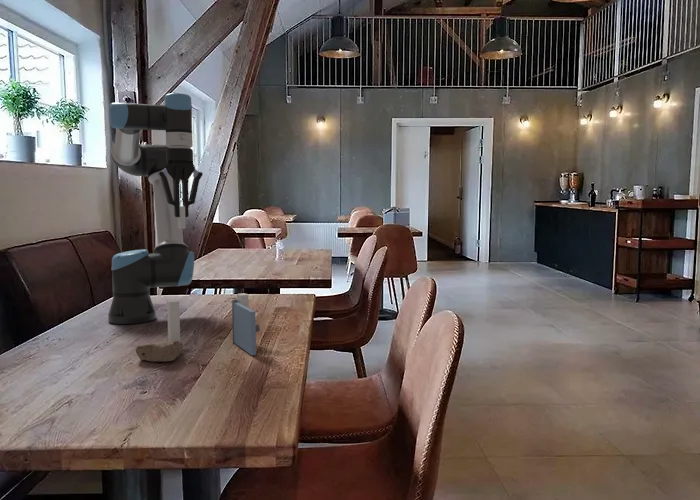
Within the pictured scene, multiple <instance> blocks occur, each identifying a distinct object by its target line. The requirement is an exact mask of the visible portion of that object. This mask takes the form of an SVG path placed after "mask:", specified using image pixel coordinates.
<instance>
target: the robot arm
mask: <svg viewBox="0 0 700 500" xmlns="http://www.w3.org/2000/svg"><path fill="white" fill-rule="evenodd" d="M108 109H109V125H110V127H111V128H113V129H115V135H114V138H115V139H114V140H115V141H114V143H113V145H112V146H111V150H110V151H111V153H110V156H111V159H112V161H113V163H114V165H116V167H118V169H119V170H121V171H122V172H123V173H126V174H128V175H131V176H135V177H147V180H148V182H149V183H150V185H152V186H153V197H154V212H155V221H156V222H155V224H156V235H157V237H156V238H157V245H156V246H155V247H154V249H153V252H154V253H153V252H152V253H149V251H148V249H144V248H141V249H134V250H128V251H123V252H122V251H121V252H119V253H116V254H114V255H113V256H112V258H111V269H110V270H111V275H112V277H111V278H112V300H111V303H110V307H109V311H108V313H107V319H108V322H109V323H111V324H116V325H133V324H141V323H146V322H151V321H153V320H156V319H157V314H156V313H157V312H156V309H155V306H154V303H153V301H152V298H151V295H150V294H151V293H150V292H151V290H150V289H151V288H166V287H180V286H189V285H190V284H191V283H192V280H193V276H194V269H195V253H194V251H189V250H190V249H189V246H188V245H187V244H186V243H185V242H184V235H183V230H184V229H186V228H187V227H186V218H188V217H189V212H190V211H189V206H191V205H194V204H195V203H196V198H197V193H198V190H199V184H200V180H201V178H202V177H203V175H204V174H203V172H202V171H199V170H198V169H196V167H195V164H194V150H193V149H192V148H193V146H194V144H193V105H192V97H191V96H190V95H189V94H186V93H179V92H177V93H176V92H172V93H167V94H165V96H164V103H163V104H150V103H149V104H145V103H134V102H133V103H131V102H124V101H123V102H111V103H110V104H109V108H108ZM144 130H147V131H149V130H150V131H165V144H144V143H140V142H141V136H142V131H144ZM191 176H193V179H192V183H191V188H190V191H189V179H190V178H191ZM180 182H181V190H180ZM180 191H182V192H181V193H182V206H181V196H180V195H181V194H180ZM189 192H190V193H189Z"/></svg>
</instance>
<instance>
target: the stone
mask: <svg viewBox="0 0 700 500" xmlns="http://www.w3.org/2000/svg"><path fill="white" fill-rule="evenodd" d="M183 346H184V344H183V342H182V341H180V342H179V341H178V340H176V341H168V340H161V341H158V342H154V343H153V342H152V343H148V344H143V345H137V346H136V348H135V353H136V355H137V357H138V359H139V360H141V361H147V362H171V361H174V360H176V358H177V357H178V356H179V355H180V354H181V353H182V352H183Z"/></svg>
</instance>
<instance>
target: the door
mask: <svg viewBox="0 0 700 500" xmlns="http://www.w3.org/2000/svg"><path fill="white" fill-rule="evenodd" d="M248 307H249V306H248ZM248 307H246V306H244V305H242V304H240V303H238V300H237V298H235V299H231V313H232V314H231V316H232V318H231V319H232V320H231V321H232V323H231V324H232V344H233V345H237V346H238V347H239V348H241V349H242V350H244V351H245V352H246V353H248V354H249V355H250V356H256V355H257V335H256V334H257V333H258V332H260V331H261V330H260V328H261V327H260V324H258V323H257V322H256V321H257V320H256V311H255V310H253V309H251V308H250V307H249V308H248ZM256 323H257V324H256Z"/></svg>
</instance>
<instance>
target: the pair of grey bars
mask: <svg viewBox="0 0 700 500" xmlns="http://www.w3.org/2000/svg"><path fill="white" fill-rule="evenodd" d="M236 299H237V300H238V303H240V304H242V305H244V306H246V307H248V308H249V309H250V307H249V294H248V293H243V292H242V293H236ZM166 307H167V308H166V312H167V313H166V315H167V339H168V340H167V341H176V340H178V341H179V342H181V324H180V323H181V321H180V320H181V317H180V301H179V300H178V299H169V300H166Z"/></svg>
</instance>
